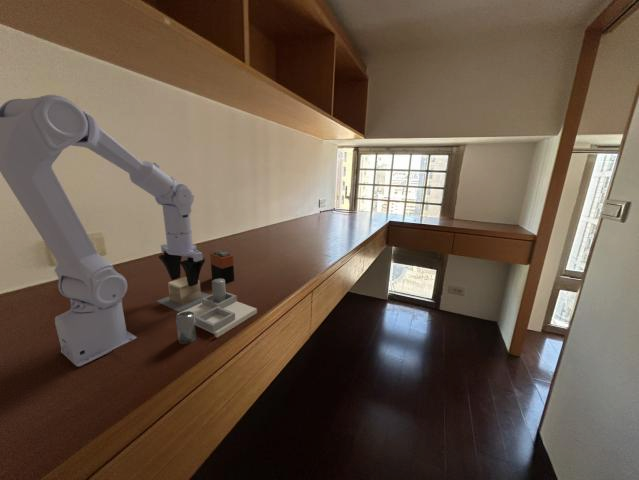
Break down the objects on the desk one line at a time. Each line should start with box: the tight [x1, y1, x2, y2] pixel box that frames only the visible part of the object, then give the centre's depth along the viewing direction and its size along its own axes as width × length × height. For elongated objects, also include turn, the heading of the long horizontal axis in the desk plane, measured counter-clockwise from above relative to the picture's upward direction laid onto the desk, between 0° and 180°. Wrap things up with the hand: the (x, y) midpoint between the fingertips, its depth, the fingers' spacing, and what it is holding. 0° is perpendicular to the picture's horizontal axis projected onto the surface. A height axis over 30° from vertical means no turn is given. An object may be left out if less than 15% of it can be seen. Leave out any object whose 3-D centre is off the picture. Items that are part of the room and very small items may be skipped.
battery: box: [209, 249, 235, 284], centre depth 81 cm, size 4×7×10 cm, turn 50°
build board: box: [176, 279, 258, 338], centre depth 61 cm, size 12×14×7 cm
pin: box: [175, 311, 197, 345], centre depth 52 cm, size 3×3×6 cm
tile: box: [156, 291, 210, 313], centre depth 69 cm, size 10×10×2 cm
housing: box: [167, 276, 202, 305], centre depth 68 cm, size 5×5×5 cm
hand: (184, 281), depth 68 cm, fingers open, 7 cm apart
